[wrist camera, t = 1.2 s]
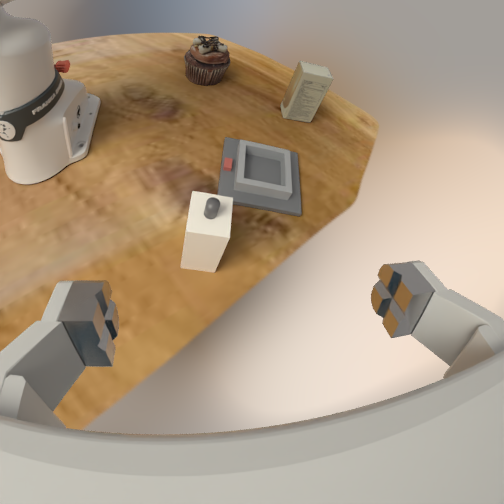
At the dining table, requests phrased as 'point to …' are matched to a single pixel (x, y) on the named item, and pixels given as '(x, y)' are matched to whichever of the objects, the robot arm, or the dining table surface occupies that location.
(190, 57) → the cupcake
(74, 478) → the robot arm
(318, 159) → the dining table surface
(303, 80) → the skincare box
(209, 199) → the plug
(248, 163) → the socket plate
